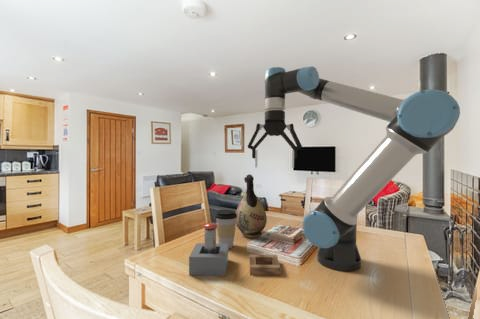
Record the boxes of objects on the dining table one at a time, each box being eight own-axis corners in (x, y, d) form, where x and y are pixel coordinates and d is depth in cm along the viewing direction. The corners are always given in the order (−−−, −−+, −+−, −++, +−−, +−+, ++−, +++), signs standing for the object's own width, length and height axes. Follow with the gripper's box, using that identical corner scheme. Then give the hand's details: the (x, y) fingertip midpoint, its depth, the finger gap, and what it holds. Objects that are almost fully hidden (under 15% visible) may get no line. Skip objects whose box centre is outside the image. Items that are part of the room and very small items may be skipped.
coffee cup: (234, 251, 100) (234, 215, 99) (211, 249, 102) (212, 213, 101) (238, 243, 109) (239, 209, 109) (218, 241, 111) (218, 208, 111)
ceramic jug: (234, 229, 128) (235, 172, 128) (264, 229, 129) (264, 172, 128) (235, 241, 111) (235, 175, 111) (269, 241, 112) (270, 175, 111)
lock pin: (217, 263, 89) (217, 222, 88) (215, 270, 84) (216, 226, 84) (204, 263, 89) (204, 222, 89) (202, 269, 84) (202, 226, 84)
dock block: (228, 259, 92) (228, 243, 92) (225, 275, 80) (225, 257, 80) (196, 259, 93) (196, 243, 93) (188, 274, 81) (188, 256, 80)
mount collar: (276, 261, 91) (276, 255, 91) (280, 275, 81) (280, 267, 81) (249, 261, 91) (249, 254, 91) (250, 274, 81) (250, 267, 81)
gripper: (305, 112, 96) (304, 167, 96) (241, 112, 97) (241, 166, 97) (310, 109, 88) (309, 168, 89) (241, 109, 89) (240, 167, 90)
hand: (274, 167), depth 93 cm, fingers open, 13 cm apart
